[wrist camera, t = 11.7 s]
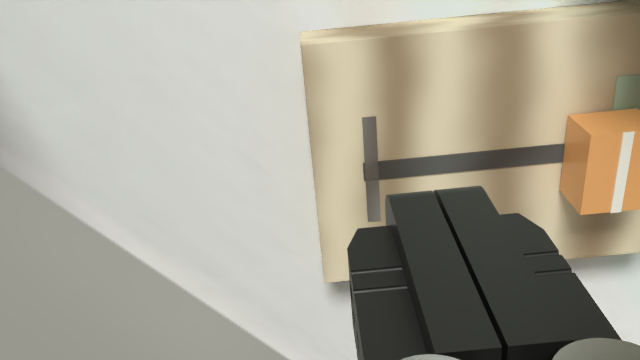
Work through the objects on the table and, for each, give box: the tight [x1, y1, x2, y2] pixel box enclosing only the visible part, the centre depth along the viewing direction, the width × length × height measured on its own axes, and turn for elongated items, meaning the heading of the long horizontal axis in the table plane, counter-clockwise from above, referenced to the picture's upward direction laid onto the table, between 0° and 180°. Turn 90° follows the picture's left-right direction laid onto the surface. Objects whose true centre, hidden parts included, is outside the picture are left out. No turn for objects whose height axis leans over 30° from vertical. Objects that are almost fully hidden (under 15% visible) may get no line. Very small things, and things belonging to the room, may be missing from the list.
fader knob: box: [560, 108, 640, 215], centre depth 35 cm, size 4×5×3 cm
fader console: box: [300, 0, 640, 283], centre depth 38 cm, size 22×16×3 cm
